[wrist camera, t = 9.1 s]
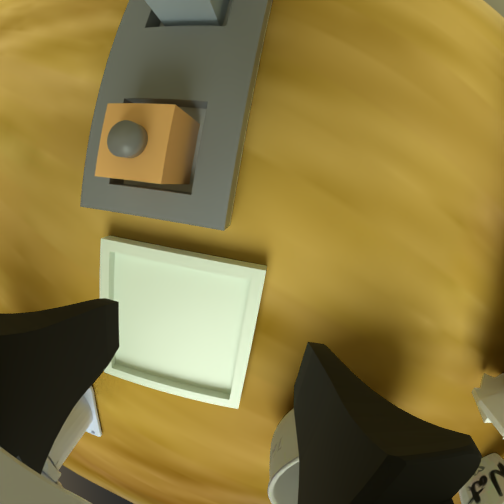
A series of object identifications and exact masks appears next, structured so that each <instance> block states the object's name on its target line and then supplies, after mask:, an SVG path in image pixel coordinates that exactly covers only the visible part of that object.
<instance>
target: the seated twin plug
mask: <svg viewBox="0 0 504 504" xmlns="http://www.w3.org/2000/svg"><path fill="white" fill-rule="evenodd" d="M145 1H146V3H147V4H148V5H149V7H150V8H151V9H152V10H153V12H154V13H155V14H156V15H157V17H158V18H159V19H160V21H161V22H162V23H163V25H164V26H194V25H198V26H222V25H223V22H224V18H225V15H226V11H227V8H228V4H229V1H230V0H145Z"/></svg>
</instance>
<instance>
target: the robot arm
mask: <svg viewBox="0 0 504 504" xmlns="http://www.w3.org/2000/svg"><path fill="white" fill-rule="evenodd" d="M119 347H120V346H119V302H117V301H114V300H110V299H107V298H101V299H95V300H90V301H85V302H81V303H76V304H72V305H68V306H63V307H58V308H53V309H48V310H43V311H37V312H29V313H16V314H0V504H92V503H90V502H88V501H87V500H85V499H83V498H81V497H79V496H78V495H76V494H74V493H72V492H70V491H68V490H66V489H64V488H63V487H62V484H61V483H60V482H59V481H58V479H59V477H60V476H61V473H60V472H59V471H58V469H59V468H60V467H61V465H62V464H63V462H64V461H65V460H66V458H67V457H68V455H69V454H70V452H71V451H72V450H73V448H74V447H75V445H76V444H77V443H78V441H79V440H80V438H81V437H82V436H83V434H84V433H85V431H87V432H89V433H91V434H93V435H96V436H98V437H100V436H101V435H102V431H101V427H100V422H99V418H98V413H97V408H96V402H95V397H94V391H93V387H92V386H91V385H92V384H93V383H94V382H95V381H96V379H97V378H98V377H99V376H100V375H101V373H102V372H103V371H104V370H105V369H106V367H107V366H108V365H109V363H110V362H111V360H112V359H113V357H114V355H115V354H116V352H117V350H118V348H119ZM294 416H295V425H296V434H297V443H298V452H299V489H298V504H454V503H453V500H452V497H453V496H454V495H455V494H456V493H457V492H458V491H459V490H460V489H461V488H462V487H463V486H464V485H465V484H466V483H467V482H468V481H469V480H470V478H471V477H472V476H473V475H474V474H475V472H476V471H477V469H478V467H479V465H480V463H481V458H482V455H481V453H480V451H479V450H478V448H477V446H476V445H475V443H474V441H473V440H472V438H471V436H470V435H467V434H463V433H459V432H455V431H452V430H448V429H445V428H441V427H439V426H436V425H433V424H431V423H428V422H426V421H423V420H421V419H419V418H417V417H415V416H413V415H411V414H409V413H407V412H405V411H403V410H402V409H400V408H398V407H396V406H395V405H393V404H391V403H390V402H388V401H387V400H385V399H384V398H383V397H381V396H380V395H378V394H377V393H376V392H374V391H373V390H372V389H370V388H369V387H368V386H367V385H366V384H365V383H363V382H362V381H361V380H360V379H359V378H358V377H357V376H356V375H354V374H353V373H352V372H351V371H350V370H349V369H348V368H347V367H346V366H345V365H344V364H343V363H342V362H341V361H340V360H339V359H338V357H337V356H336V355H335V354H334V353H333V352H332V351H331V350H330V349H329V348H328V347H327V346H326V345H324V344H319V343H312V342H308V343H307V346H306V350H305V353H304V356H303V360H302V363H301V366H300V370H299V373H298V376H297V379H296V382H295V385H294Z"/></svg>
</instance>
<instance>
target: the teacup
mask: <svg viewBox="0 0 504 504" xmlns="http://www.w3.org/2000/svg"><path fill="white" fill-rule="evenodd" d="M298 489H299V452H298V443H297V434H296V425H295V416H294V408H293V409H292V410H291V411H290V412H289V413H287V414H286V415H285V416H284V418H283V419H282V420H281V422H280V423H279V424H278V426H277V428H276V430H275V432H274V435H273V438H272V443H271V451H270V482H269V485H268V497H269V499H270V501H271V503H272V504H298Z"/></svg>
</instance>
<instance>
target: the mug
mask: <svg viewBox="0 0 504 504" xmlns="http://www.w3.org/2000/svg"><path fill="white" fill-rule="evenodd" d="M459 495H460V499H461V504H504V460H503V459H502V458H501V457H500V456H499V455H498V454H497V453H492V454H489V455H487V456H485V457H483V458H481V463H480V465H479V467H478V469H477V471H476V472H475V474H474V475H473V476H472V477H471V478H470V480H469V481H468V482H467V483H466V484H465V485H464V486H463V487H462V488H461V489H460V490H459Z"/></svg>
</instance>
